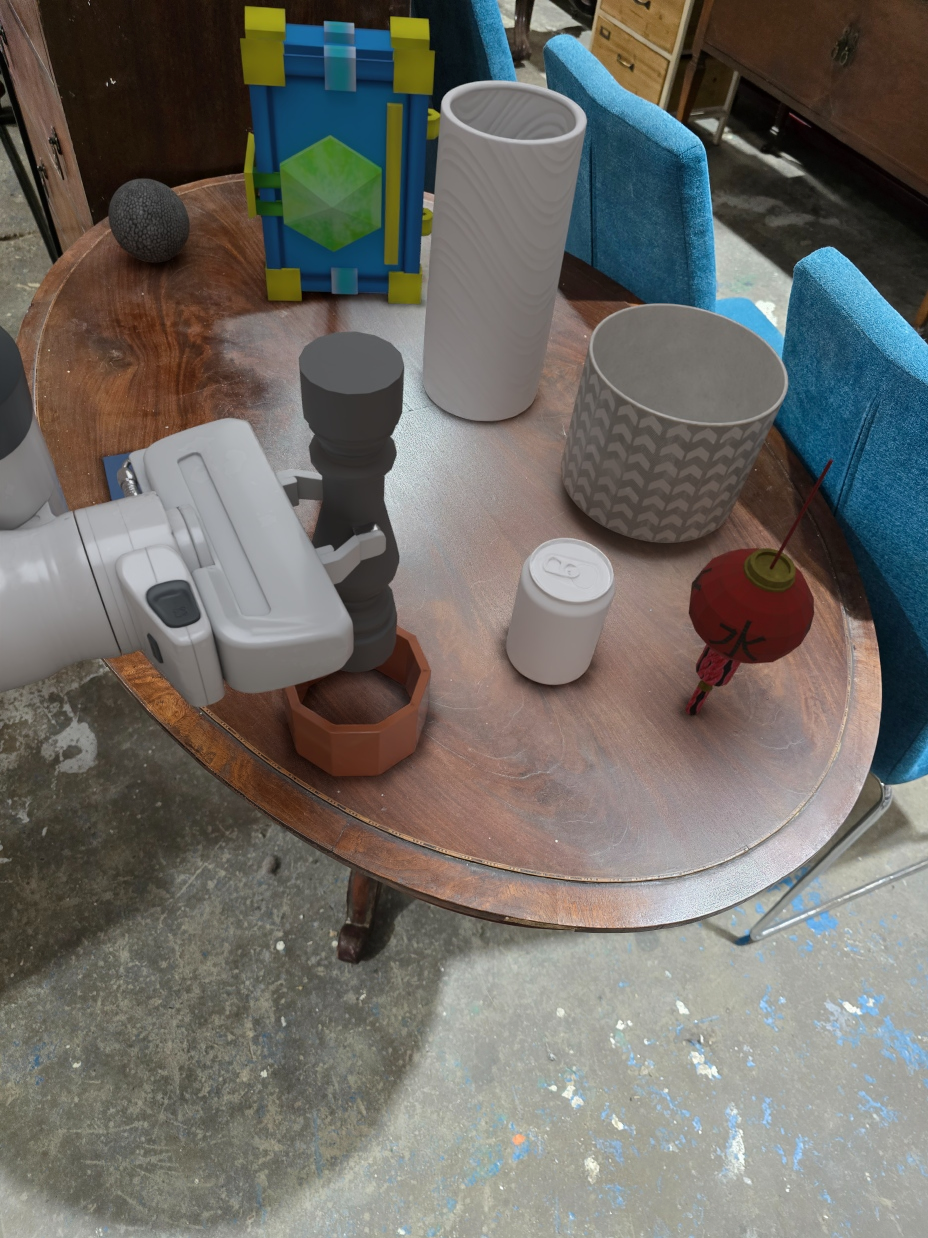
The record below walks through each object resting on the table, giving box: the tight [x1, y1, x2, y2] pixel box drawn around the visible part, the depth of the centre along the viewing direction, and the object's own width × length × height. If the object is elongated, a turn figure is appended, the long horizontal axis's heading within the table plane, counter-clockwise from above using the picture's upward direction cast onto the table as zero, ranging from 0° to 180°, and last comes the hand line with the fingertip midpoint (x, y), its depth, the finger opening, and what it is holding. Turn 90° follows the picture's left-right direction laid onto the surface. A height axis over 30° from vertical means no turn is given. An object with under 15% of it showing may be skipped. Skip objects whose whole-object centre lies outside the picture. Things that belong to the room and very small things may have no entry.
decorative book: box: [239, 5, 441, 305], centre depth 105 cm, size 14×23×30 cm, turn 96°
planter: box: [560, 303, 789, 544], centre depth 88 cm, size 19×19×18 cm
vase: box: [422, 80, 588, 422], centre depth 93 cm, size 14×14×32 cm
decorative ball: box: [107, 178, 191, 263], centre depth 113 cm, size 10×10×10 cm
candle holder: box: [298, 330, 405, 673], centre depth 56 cm, size 6×6×25 cm
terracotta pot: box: [281, 624, 432, 777], centre depth 72 cm, size 12×12×7 cm
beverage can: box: [505, 537, 617, 686], centre depth 76 cm, size 8×8×12 cm
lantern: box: [685, 458, 834, 717], centre depth 67 cm, size 10×10×30 cm
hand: (366, 510), depth 56 cm, fingers closed on candle holder, 4 cm apart
